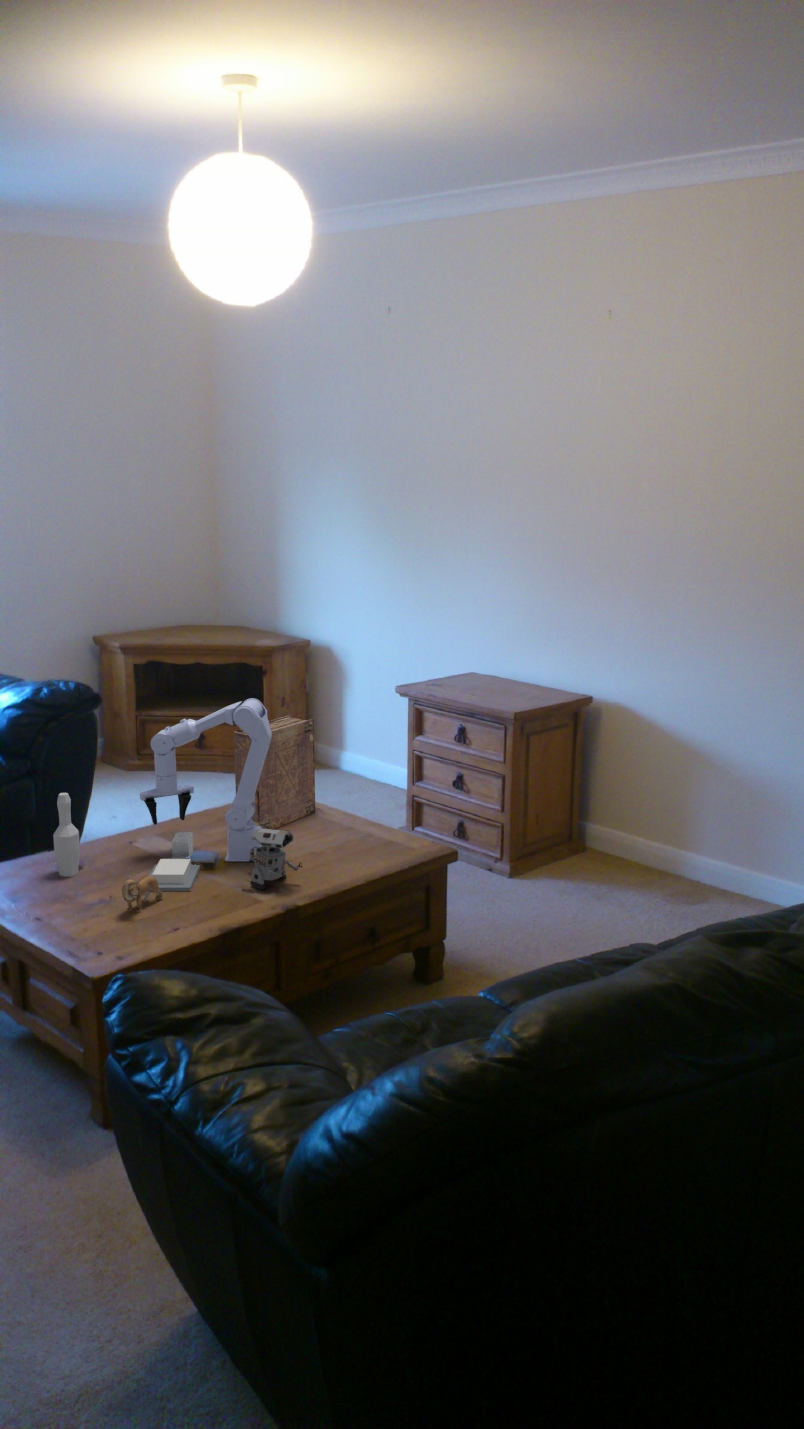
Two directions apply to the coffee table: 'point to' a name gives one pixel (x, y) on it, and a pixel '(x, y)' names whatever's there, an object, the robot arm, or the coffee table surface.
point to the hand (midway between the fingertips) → (168, 821)
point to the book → (282, 772)
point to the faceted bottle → (66, 839)
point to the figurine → (270, 856)
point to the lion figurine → (139, 891)
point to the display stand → (175, 874)
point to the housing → (182, 845)
